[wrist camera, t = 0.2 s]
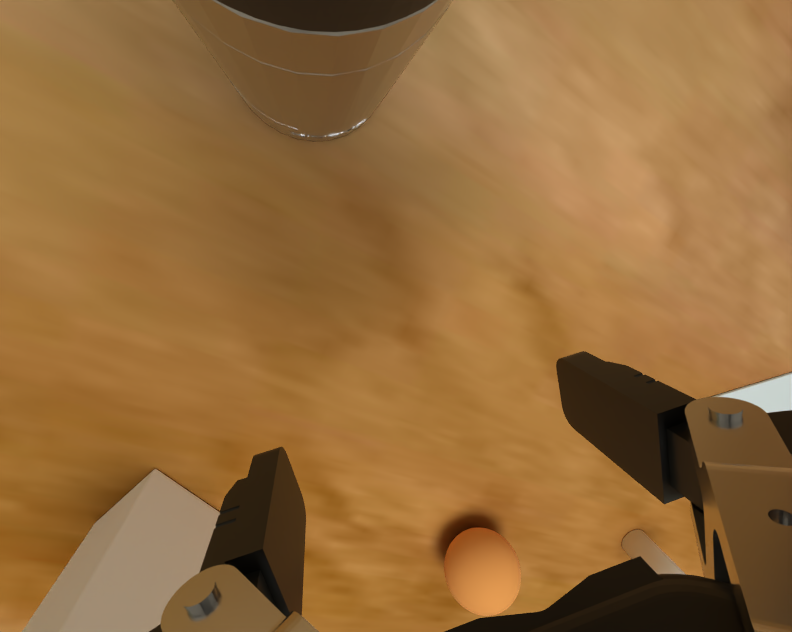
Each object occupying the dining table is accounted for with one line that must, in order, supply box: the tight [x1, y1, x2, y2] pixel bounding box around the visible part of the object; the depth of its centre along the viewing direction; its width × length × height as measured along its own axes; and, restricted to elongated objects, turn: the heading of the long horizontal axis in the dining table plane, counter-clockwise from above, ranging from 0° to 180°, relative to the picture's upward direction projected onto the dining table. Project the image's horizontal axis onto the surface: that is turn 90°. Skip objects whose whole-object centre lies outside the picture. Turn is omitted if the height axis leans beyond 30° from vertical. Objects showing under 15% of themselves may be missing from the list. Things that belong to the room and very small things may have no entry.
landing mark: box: [712, 372, 792, 413], centre depth 39 cm, size 14×14×1 cm
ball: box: [444, 527, 521, 616], centre depth 33 cm, size 6×6×6 cm
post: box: [622, 530, 686, 575], centre depth 35 cm, size 3×3×9 cm
